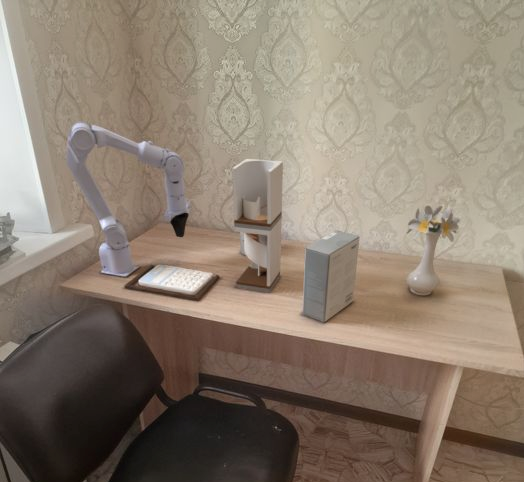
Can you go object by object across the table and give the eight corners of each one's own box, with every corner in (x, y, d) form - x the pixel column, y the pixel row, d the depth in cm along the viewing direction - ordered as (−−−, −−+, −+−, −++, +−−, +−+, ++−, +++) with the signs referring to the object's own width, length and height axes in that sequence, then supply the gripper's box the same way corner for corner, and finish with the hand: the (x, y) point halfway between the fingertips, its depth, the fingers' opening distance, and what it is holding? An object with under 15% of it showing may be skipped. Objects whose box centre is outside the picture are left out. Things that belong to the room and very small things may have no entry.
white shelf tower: (248, 272, 150) (246, 158, 130) (280, 276, 148) (282, 161, 128) (236, 287, 142) (232, 168, 122) (269, 292, 139) (270, 171, 119)
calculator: (195, 296, 137) (194, 290, 136) (137, 285, 143) (136, 279, 142) (214, 277, 147) (214, 272, 146) (159, 268, 153) (158, 262, 152)
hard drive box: (331, 294, 138) (337, 229, 127) (353, 301, 134) (361, 236, 123) (300, 314, 128) (304, 246, 117) (324, 323, 124) (330, 254, 113)
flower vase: (447, 282, 144) (467, 202, 130) (435, 308, 131) (456, 222, 117) (405, 273, 149) (421, 195, 135) (390, 297, 136) (405, 214, 122)
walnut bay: (124, 288, 141) (124, 285, 141) (151, 267, 154) (151, 264, 153) (197, 301, 135) (197, 298, 134) (219, 278, 147) (219, 275, 146)
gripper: (176, 202, 136) (180, 245, 144) (197, 189, 148) (200, 230, 155) (155, 200, 138) (160, 243, 146) (177, 186, 150) (182, 227, 157)
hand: (180, 236), depth 151 cm, fingers closed
